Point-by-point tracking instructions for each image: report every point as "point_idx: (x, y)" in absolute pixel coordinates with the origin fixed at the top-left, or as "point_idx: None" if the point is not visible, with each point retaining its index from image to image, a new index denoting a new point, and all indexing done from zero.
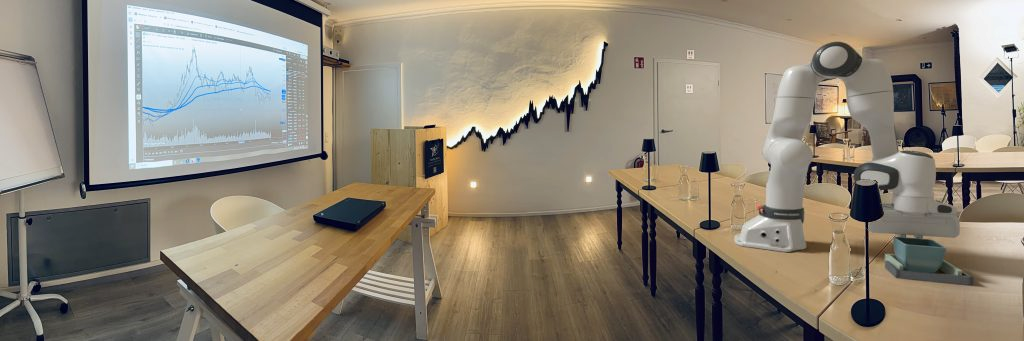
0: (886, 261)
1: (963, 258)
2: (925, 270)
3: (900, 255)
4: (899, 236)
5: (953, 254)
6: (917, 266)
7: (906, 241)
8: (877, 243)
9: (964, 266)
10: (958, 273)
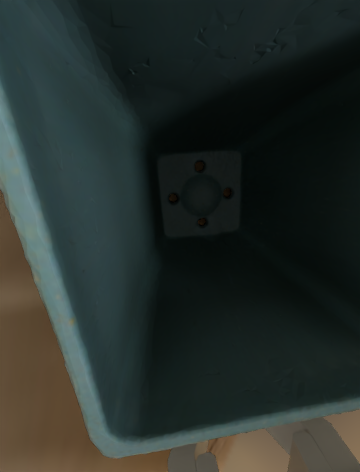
0: None
1: (7, 438)
2: (185, 133)
3: (331, 170)
4: (337, 443)
5: (33, 462)
6: (232, 114)
7: (310, 356)
8: (223, 463)
9: (11, 351)
10: None
